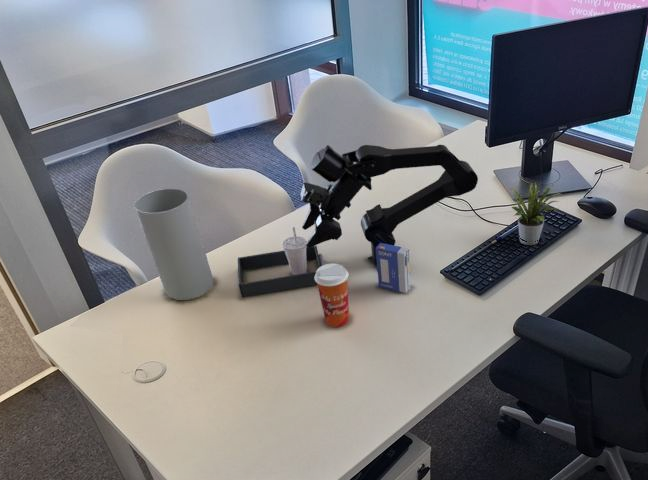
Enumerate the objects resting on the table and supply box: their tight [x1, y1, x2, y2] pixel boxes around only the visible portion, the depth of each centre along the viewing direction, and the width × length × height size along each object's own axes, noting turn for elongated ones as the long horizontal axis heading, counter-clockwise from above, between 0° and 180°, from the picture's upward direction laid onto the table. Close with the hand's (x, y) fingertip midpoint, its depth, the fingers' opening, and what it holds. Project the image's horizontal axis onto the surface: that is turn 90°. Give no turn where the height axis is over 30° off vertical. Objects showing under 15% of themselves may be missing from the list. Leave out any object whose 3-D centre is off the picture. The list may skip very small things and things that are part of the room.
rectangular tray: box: [237, 245, 326, 299], centre depth 162 cm, size 22×13×4 cm, turn 103°
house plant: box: [510, 182, 562, 246], centre depth 166 cm, size 14×14×16 cm
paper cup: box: [314, 263, 350, 328], centre depth 144 cm, size 8×8×14 cm
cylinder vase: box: [133, 187, 215, 301], centre depth 153 cm, size 12×12×25 cm
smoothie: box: [281, 226, 308, 275], centre depth 159 cm, size 6×6×14 cm
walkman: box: [376, 243, 412, 294], centre depth 153 cm, size 8×3×12 cm, turn 66°
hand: (305, 237), depth 157 cm, fingers open, 9 cm apart
